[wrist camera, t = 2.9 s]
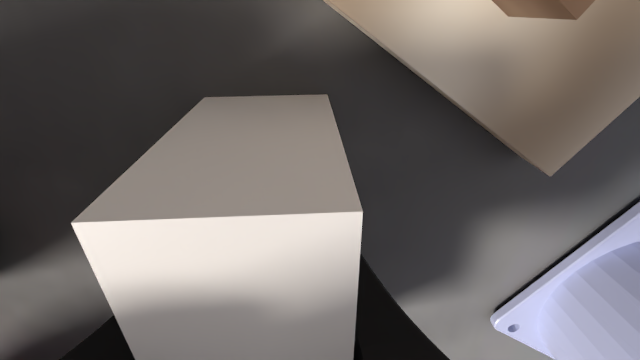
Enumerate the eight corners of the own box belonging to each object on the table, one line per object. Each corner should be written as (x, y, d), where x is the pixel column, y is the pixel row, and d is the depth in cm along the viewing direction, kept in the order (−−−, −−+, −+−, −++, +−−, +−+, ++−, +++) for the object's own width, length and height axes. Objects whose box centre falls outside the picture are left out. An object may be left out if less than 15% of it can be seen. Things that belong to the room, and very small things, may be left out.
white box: (327, 94, 9) (362, 211, 4) (327, 323, 14) (343, 515, 9) (197, 97, 9) (54, 223, 4) (242, 328, 14) (206, 526, 9)
